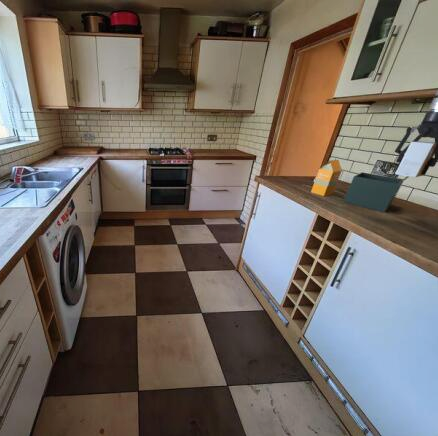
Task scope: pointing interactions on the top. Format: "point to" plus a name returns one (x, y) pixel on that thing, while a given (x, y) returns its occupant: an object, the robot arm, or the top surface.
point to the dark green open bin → (373, 191)
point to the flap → (404, 179)
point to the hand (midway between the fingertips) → (409, 172)
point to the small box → (416, 158)
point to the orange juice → (327, 178)
